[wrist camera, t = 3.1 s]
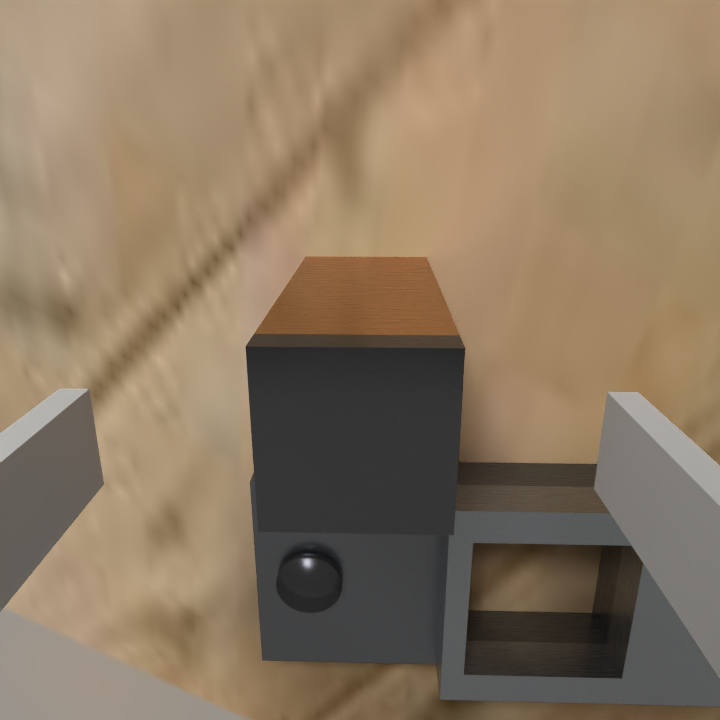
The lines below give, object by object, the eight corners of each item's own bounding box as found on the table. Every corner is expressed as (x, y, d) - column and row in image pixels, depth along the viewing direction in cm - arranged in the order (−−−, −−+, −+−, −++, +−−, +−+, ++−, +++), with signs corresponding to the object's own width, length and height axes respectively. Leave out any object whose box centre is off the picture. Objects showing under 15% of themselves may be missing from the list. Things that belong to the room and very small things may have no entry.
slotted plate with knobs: (258, 459, 28) (236, 516, 24) (826, 467, 28) (909, 527, 23) (269, 629, 32) (252, 706, 27) (776, 640, 31) (841, 721, 27)
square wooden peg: (305, 256, 25) (245, 346, 14) (426, 257, 25) (464, 348, 14) (309, 369, 27) (258, 532, 16) (422, 370, 27) (454, 535, 15)
